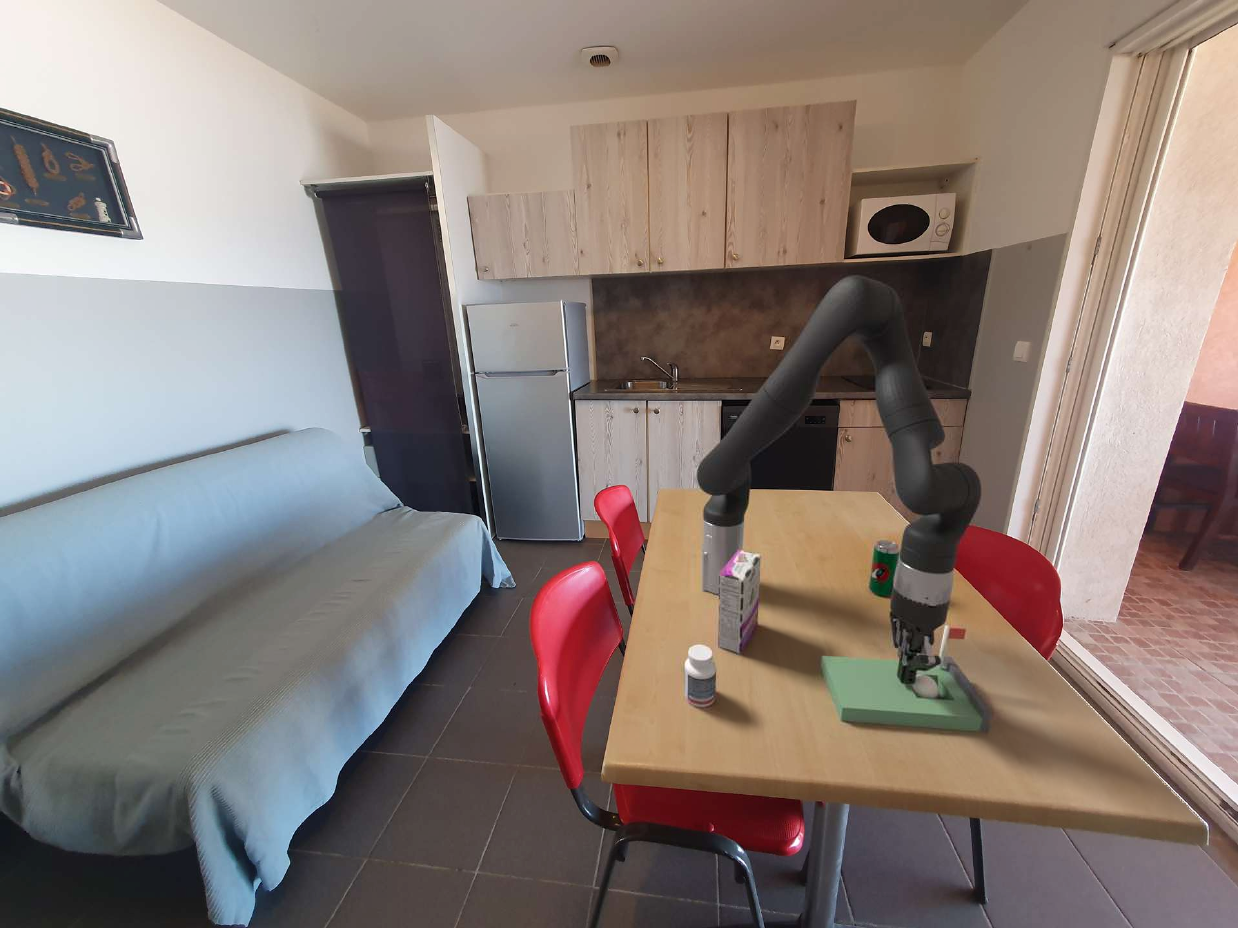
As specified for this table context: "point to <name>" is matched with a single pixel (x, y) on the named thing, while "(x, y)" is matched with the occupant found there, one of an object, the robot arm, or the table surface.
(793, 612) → the table surface
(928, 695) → the ball
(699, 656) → the pill bottle
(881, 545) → the soda can
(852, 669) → the green
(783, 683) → the table surface
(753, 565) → the candy bar box
